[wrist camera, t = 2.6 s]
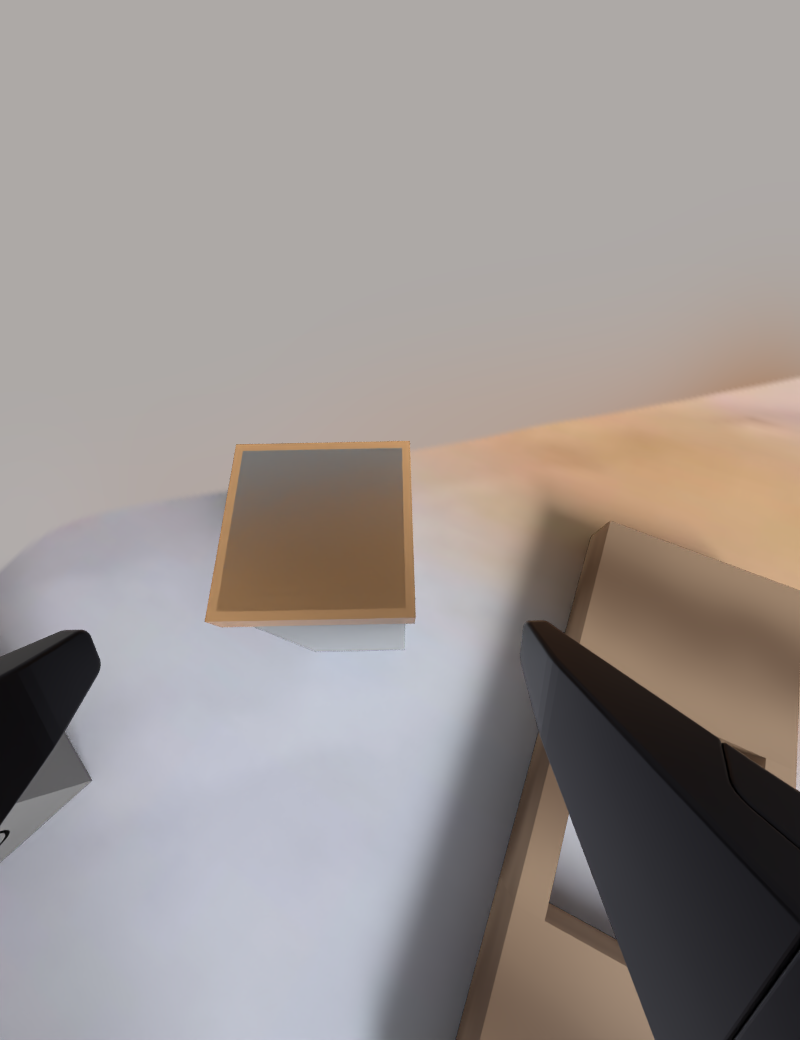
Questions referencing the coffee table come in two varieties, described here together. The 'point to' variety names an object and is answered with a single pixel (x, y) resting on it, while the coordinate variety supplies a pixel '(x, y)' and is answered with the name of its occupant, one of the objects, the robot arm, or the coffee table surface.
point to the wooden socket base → (688, 688)
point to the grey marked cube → (44, 796)
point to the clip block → (318, 545)
